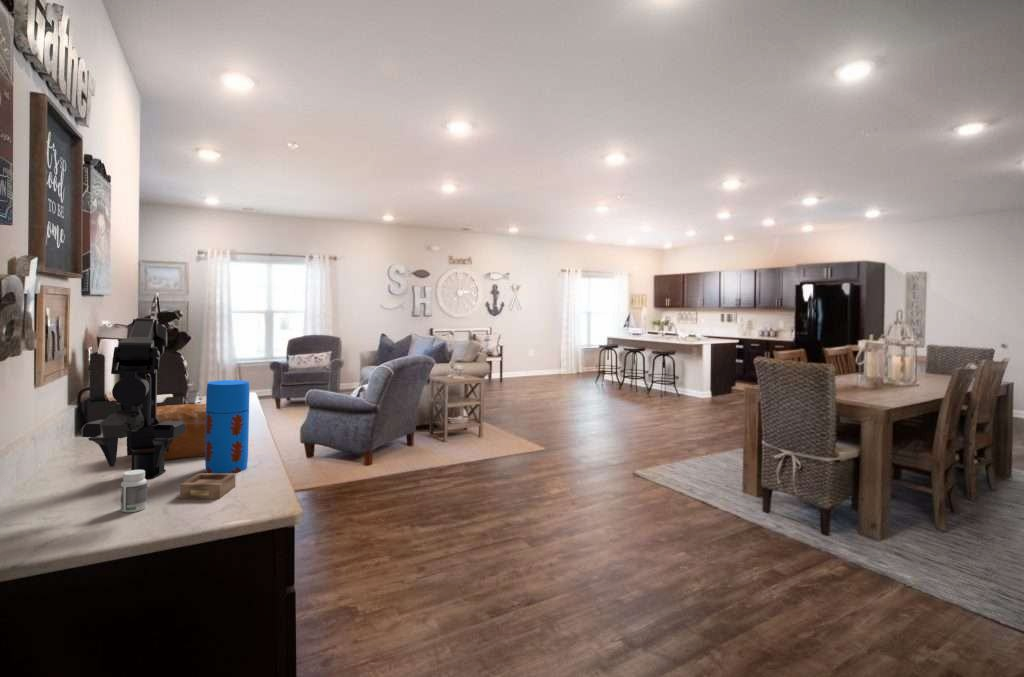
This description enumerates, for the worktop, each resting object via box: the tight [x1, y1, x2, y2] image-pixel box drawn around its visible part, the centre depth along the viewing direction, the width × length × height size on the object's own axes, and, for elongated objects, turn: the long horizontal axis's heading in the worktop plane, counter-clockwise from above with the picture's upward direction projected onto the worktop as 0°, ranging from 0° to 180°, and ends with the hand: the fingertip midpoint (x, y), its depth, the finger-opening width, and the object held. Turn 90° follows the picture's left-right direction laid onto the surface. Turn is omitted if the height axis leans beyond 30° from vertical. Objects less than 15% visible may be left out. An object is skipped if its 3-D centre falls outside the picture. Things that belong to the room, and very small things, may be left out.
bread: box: [129, 403, 206, 461], centre depth 160 cm, size 14×26×16 cm, turn 127°
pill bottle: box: [120, 470, 148, 513], centre depth 115 cm, size 5×5×8 cm
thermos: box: [204, 379, 251, 474], centre depth 147 cm, size 11×11×25 cm
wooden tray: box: [179, 472, 237, 500], centre depth 128 cm, size 9×9×4 cm
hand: (134, 466), depth 115 cm, fingers open, 9 cm apart
